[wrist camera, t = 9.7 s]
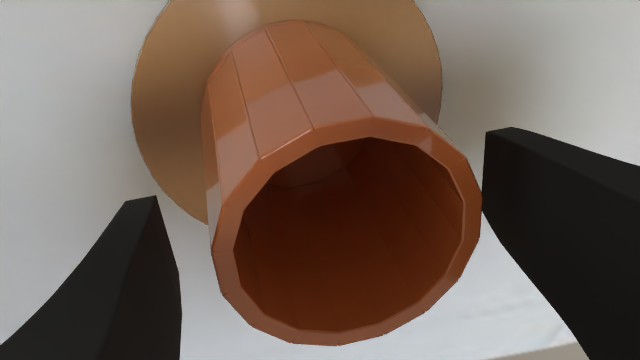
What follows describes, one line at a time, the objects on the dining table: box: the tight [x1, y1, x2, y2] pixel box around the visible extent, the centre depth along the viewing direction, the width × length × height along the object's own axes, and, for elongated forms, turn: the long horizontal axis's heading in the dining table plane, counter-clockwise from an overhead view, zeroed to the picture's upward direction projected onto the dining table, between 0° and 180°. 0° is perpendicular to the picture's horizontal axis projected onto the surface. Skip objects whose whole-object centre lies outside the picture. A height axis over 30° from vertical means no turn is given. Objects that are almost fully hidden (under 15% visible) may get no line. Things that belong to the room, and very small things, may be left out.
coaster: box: [131, 0, 442, 226], centre depth 16 cm, size 9×9×1 cm
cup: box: [200, 20, 482, 346], centre depth 13 cm, size 5×5×6 cm
